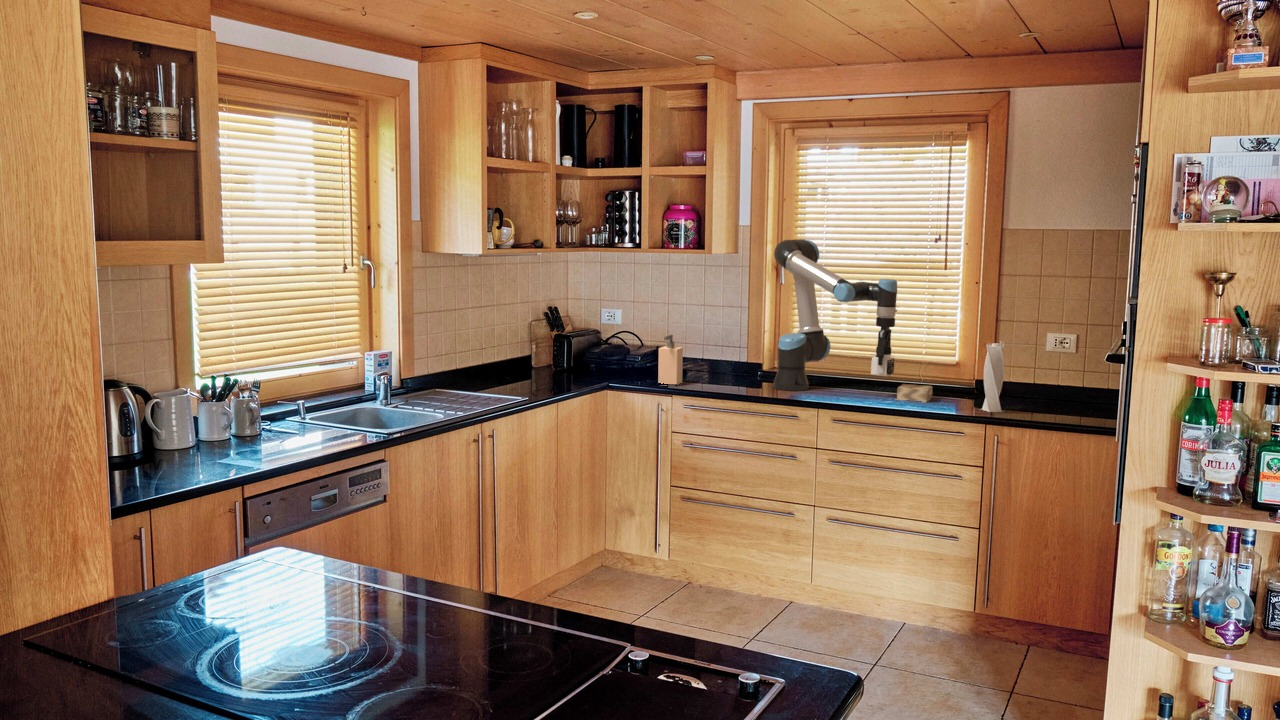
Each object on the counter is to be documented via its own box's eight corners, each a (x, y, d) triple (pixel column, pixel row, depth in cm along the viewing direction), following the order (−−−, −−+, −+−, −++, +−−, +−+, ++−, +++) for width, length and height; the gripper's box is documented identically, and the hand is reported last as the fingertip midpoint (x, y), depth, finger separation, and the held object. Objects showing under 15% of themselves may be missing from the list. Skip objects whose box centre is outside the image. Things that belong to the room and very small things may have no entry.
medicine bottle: (886, 376, 411) (888, 347, 409) (870, 374, 415) (872, 345, 414) (893, 374, 417) (895, 346, 415) (877, 372, 421) (879, 344, 419)
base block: (896, 400, 410) (897, 387, 409) (902, 395, 420) (903, 383, 420) (926, 402, 404) (927, 390, 404) (931, 398, 415) (932, 385, 414)
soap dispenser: (663, 382, 449) (664, 333, 446) (682, 383, 446) (683, 334, 443) (655, 386, 437) (655, 336, 434) (673, 387, 434) (674, 337, 431)
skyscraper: (1007, 413, 383) (1012, 340, 379) (988, 414, 381) (993, 340, 377) (995, 409, 391) (1000, 338, 387) (976, 410, 389) (981, 338, 386)
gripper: (889, 319, 402) (886, 375, 405) (900, 315, 420) (896, 369, 424) (871, 318, 405) (867, 374, 408) (882, 314, 423) (878, 367, 427)
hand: (882, 371), depth 416 cm, fingers closed on medicine bottle, 8 cm apart
